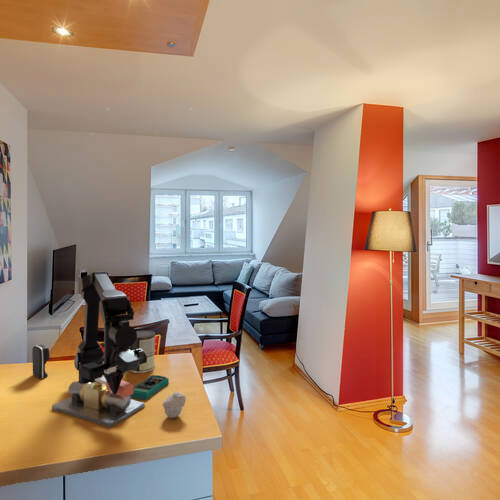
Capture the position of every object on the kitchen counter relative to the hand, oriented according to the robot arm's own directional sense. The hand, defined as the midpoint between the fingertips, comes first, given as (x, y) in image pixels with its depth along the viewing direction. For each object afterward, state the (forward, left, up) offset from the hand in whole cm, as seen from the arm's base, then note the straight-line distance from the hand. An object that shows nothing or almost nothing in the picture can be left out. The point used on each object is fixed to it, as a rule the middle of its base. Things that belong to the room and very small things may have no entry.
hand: (114, 393), depth 106 cm
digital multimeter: (-6, +22, -9) cm, 25 cm away
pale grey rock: (+13, +11, -9) cm, 19 cm away
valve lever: (-5, +4, -1) cm, 6 cm away
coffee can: (-22, +37, -9) cm, 44 cm away
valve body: (-11, +5, -9) cm, 15 cm away
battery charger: (-50, +14, -9) cm, 53 cm away
